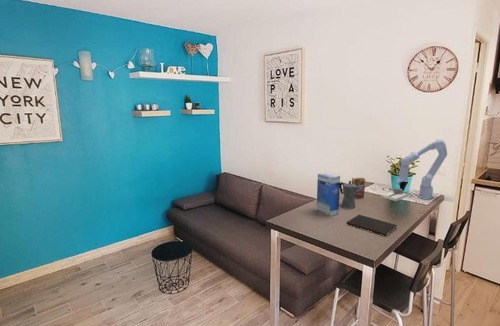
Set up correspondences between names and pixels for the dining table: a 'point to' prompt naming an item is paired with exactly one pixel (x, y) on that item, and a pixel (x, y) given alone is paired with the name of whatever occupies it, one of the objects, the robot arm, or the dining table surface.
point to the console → (394, 196)
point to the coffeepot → (348, 194)
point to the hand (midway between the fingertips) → (402, 190)
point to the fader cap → (398, 190)
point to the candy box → (359, 187)
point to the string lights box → (328, 193)
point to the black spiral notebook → (372, 224)
